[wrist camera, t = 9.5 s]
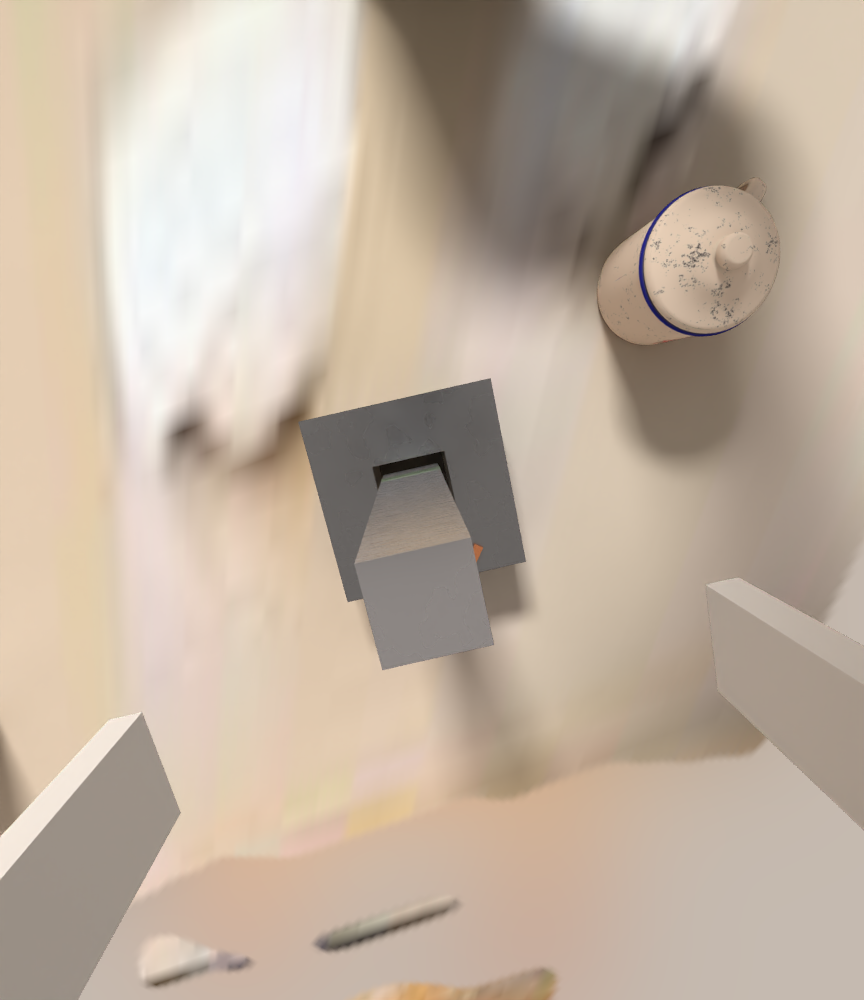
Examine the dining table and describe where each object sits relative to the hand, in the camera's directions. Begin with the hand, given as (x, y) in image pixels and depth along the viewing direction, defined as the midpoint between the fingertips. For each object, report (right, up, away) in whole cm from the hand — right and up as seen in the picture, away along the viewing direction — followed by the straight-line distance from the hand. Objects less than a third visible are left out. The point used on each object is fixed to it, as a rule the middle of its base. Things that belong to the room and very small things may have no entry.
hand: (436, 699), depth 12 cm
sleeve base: (-2, +6, +32) cm, 32 cm away
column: (-1, +5, +25) cm, 26 cm away
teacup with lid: (+18, +23, +29) cm, 42 cm away
